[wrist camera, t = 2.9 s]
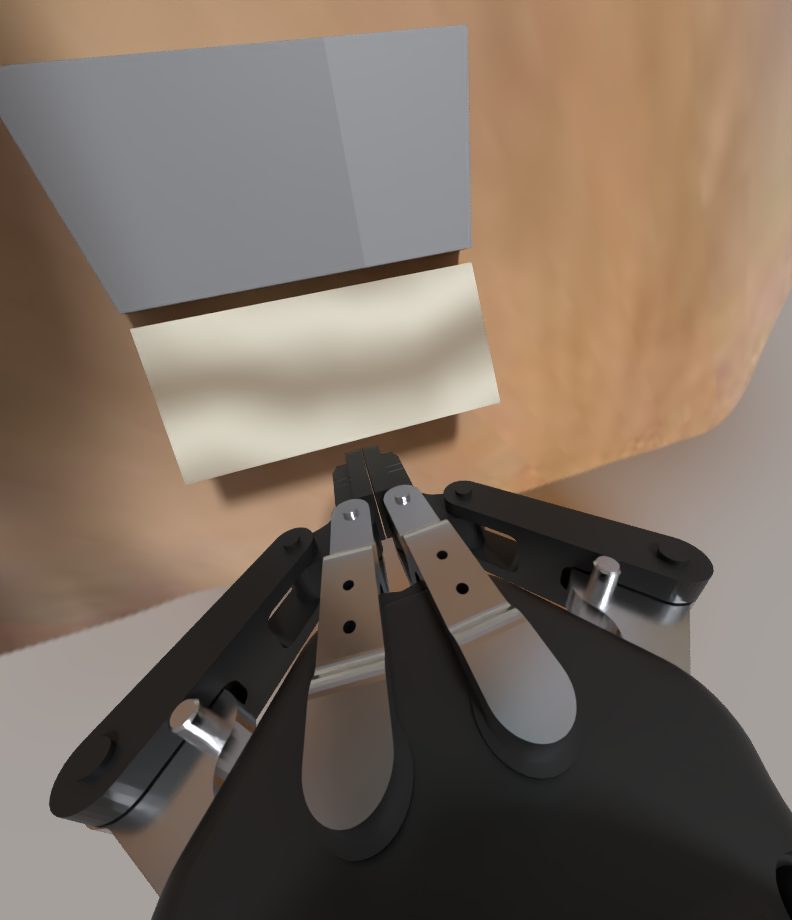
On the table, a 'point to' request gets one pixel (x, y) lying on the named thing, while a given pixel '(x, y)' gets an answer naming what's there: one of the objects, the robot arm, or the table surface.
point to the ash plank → (317, 369)
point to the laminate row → (251, 159)
